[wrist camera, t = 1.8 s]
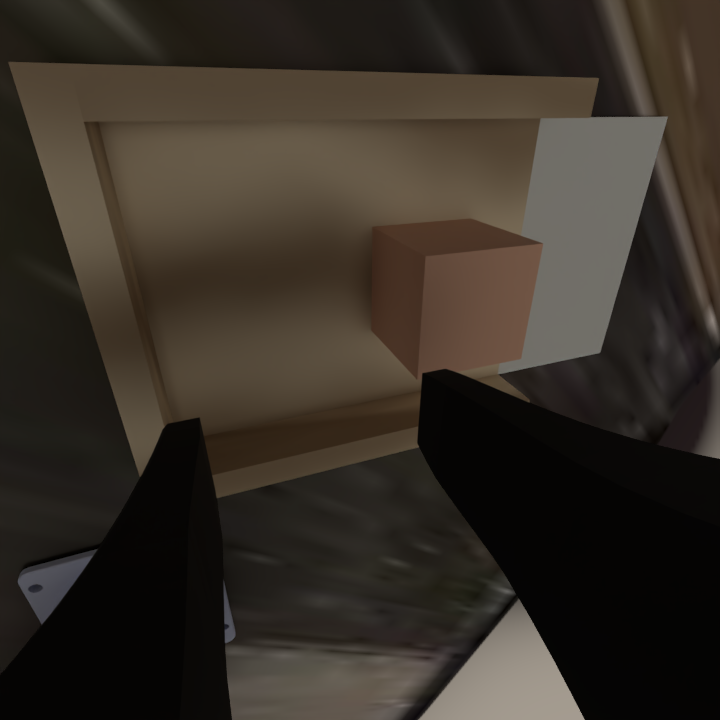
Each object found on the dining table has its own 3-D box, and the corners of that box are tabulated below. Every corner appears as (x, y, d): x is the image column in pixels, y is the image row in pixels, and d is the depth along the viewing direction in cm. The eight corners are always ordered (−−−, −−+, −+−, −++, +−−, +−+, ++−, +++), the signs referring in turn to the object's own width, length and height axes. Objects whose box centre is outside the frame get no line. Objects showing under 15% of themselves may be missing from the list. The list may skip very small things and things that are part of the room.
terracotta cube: (460, 316, 21) (521, 358, 17) (371, 330, 20) (417, 380, 16) (470, 218, 19) (543, 243, 15) (372, 226, 18) (425, 256, 14)
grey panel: (594, 349, 26) (600, 352, 26) (493, 370, 24) (497, 374, 24) (659, 116, 21) (667, 116, 20) (534, 117, 18) (540, 117, 18)
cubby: (490, 389, 25) (525, 420, 22) (154, 463, 20) (151, 514, 17) (539, 83, 18) (599, 78, 15) (40, 72, 13) (8, 62, 10)
